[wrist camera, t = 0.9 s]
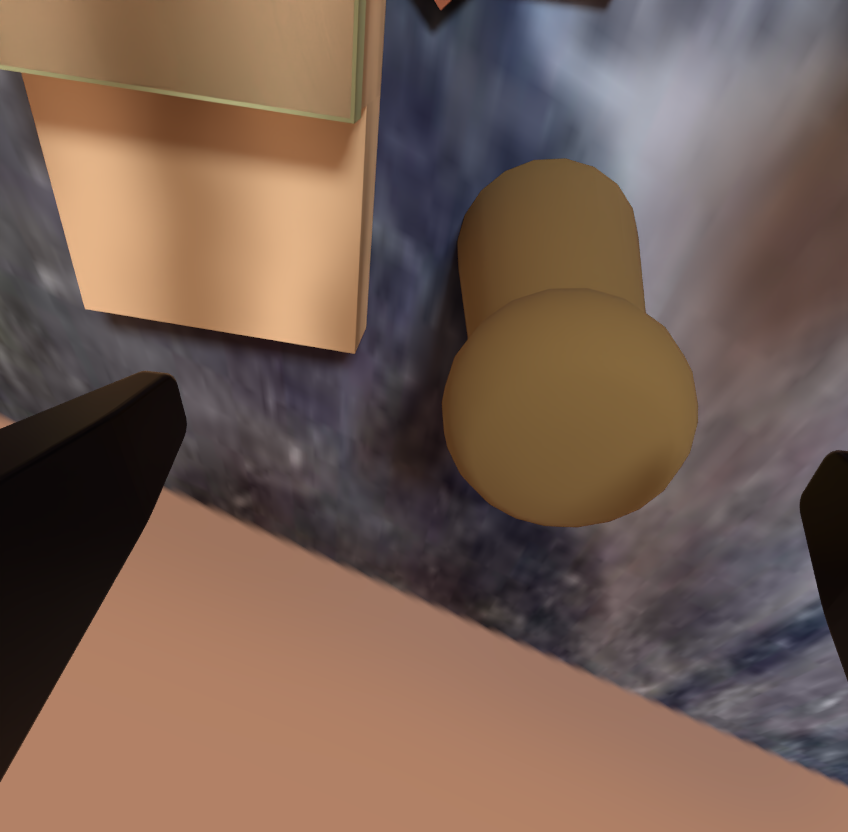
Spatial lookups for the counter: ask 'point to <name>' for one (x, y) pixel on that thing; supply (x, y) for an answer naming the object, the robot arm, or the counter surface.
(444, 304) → the counter surface
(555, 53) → the counter surface
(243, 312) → the tan piece
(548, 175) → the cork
